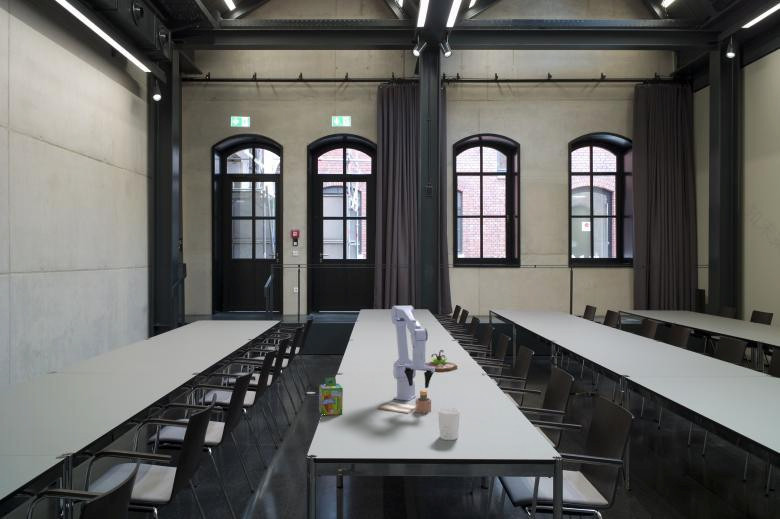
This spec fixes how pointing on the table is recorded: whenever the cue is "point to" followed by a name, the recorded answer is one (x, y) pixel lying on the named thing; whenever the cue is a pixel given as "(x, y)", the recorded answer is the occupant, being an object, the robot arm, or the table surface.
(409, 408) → the wooden picture frame
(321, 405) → the chalk box
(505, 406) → the table surface
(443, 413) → the white cup
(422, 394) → the marker
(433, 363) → the plant
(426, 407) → the pen cup
